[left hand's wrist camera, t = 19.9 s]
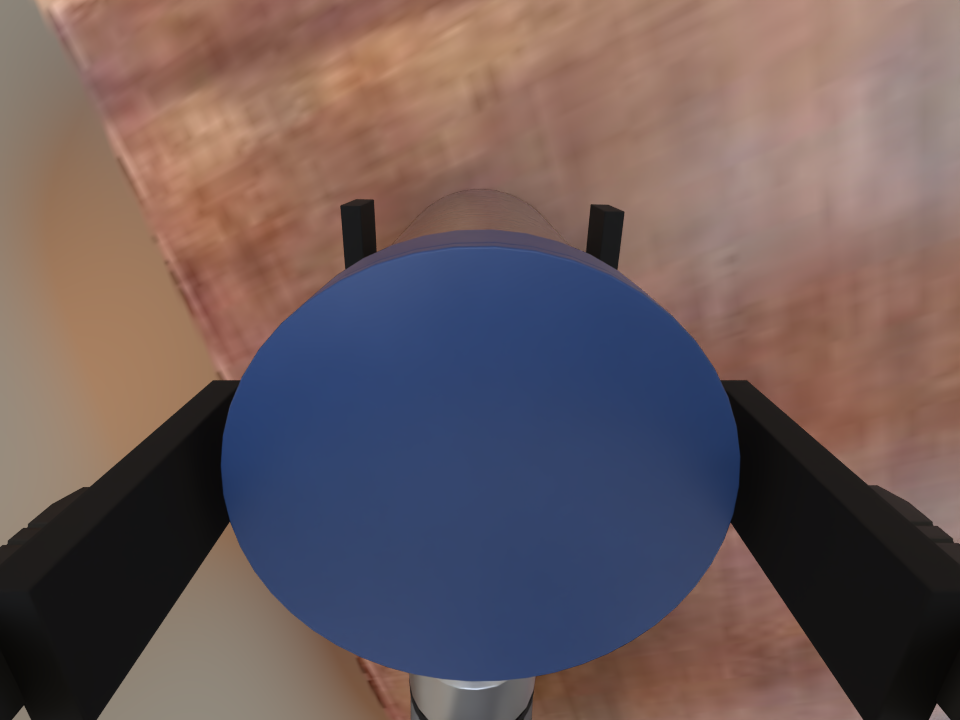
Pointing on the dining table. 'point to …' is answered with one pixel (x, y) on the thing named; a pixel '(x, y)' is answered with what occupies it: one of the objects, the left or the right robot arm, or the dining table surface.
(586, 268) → the lid
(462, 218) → the jar
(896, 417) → the dining table surface
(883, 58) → the dining table surface
